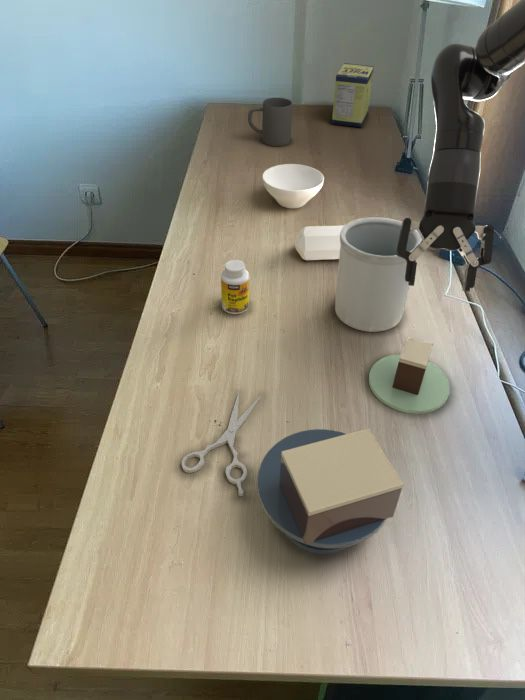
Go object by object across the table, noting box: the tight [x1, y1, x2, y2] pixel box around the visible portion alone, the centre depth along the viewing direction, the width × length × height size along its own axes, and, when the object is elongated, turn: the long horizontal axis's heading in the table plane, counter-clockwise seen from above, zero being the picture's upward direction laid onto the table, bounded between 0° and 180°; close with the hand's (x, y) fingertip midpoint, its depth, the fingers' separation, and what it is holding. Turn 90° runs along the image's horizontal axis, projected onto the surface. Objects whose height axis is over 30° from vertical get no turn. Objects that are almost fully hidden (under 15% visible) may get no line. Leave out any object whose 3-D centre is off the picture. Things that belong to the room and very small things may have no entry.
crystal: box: [294, 224, 346, 261], centre depth 129 cm, size 7×7×24 cm
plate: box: [368, 353, 451, 415], centre depth 99 cm, size 14×14×1 cm
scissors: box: [181, 391, 262, 497], centre depth 89 cm, size 11×1×20 cm
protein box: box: [331, 62, 375, 128], centre depth 191 cm, size 10×16×16 cm
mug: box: [247, 97, 293, 147], centre depth 176 cm, size 14×9×12 cm
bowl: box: [261, 163, 325, 209], centre depth 147 cm, size 16×16×7 cm
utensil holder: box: [334, 217, 423, 333], centre depth 109 cm, size 15×15×18 cm
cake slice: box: [392, 336, 434, 395], centre depth 97 cm, size 4×6×7 cm
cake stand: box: [257, 428, 404, 555], centre depth 75 cm, size 18×18×15 cm
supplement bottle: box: [220, 259, 250, 315], centre depth 112 cm, size 6×6×10 cm
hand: (438, 288), depth 90 cm, fingers open, 8 cm apart
